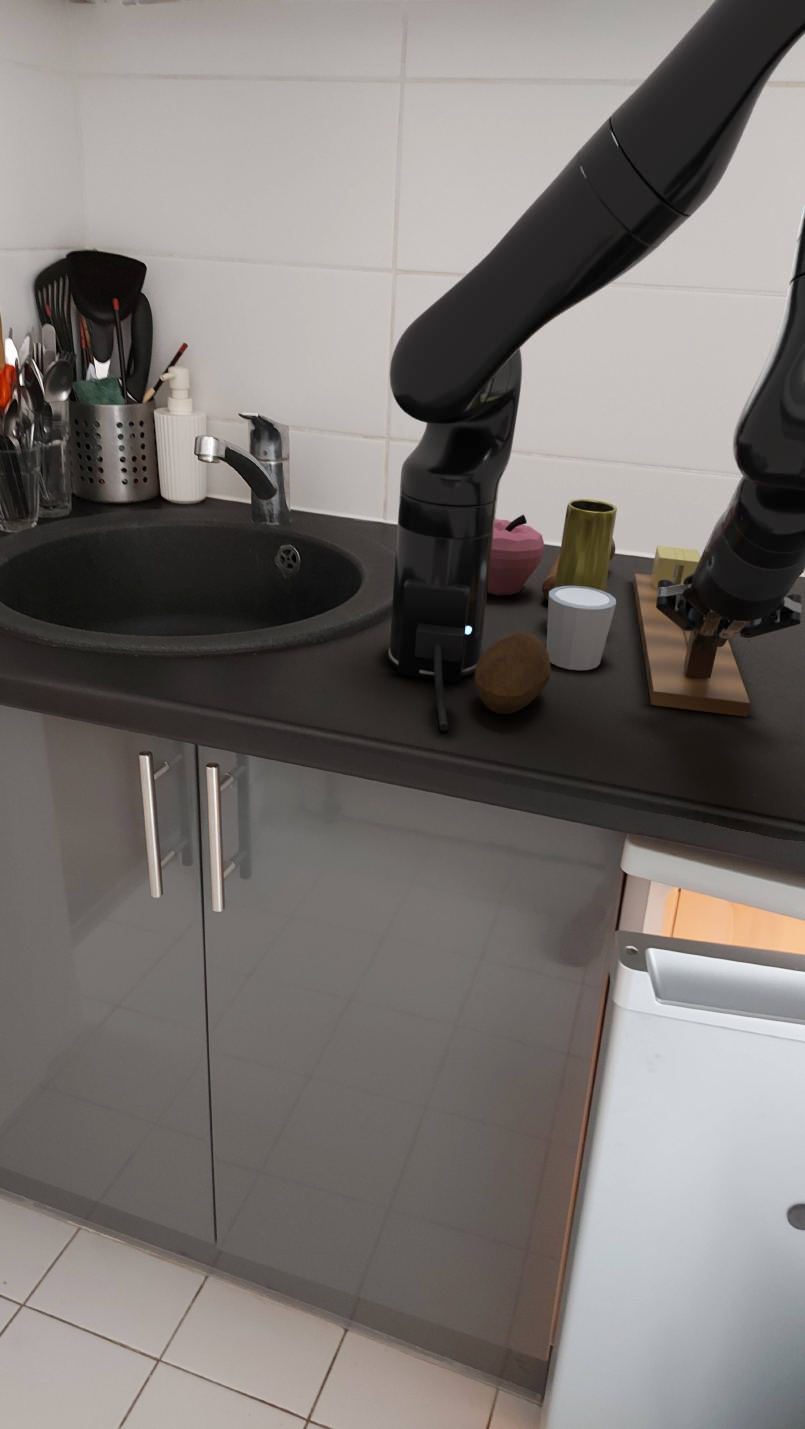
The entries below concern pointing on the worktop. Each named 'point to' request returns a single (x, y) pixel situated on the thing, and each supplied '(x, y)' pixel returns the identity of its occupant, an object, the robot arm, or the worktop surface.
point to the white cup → (578, 626)
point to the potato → (512, 672)
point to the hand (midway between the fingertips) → (706, 641)
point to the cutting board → (667, 663)
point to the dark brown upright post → (698, 659)
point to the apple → (513, 555)
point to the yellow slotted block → (673, 564)
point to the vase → (586, 544)
